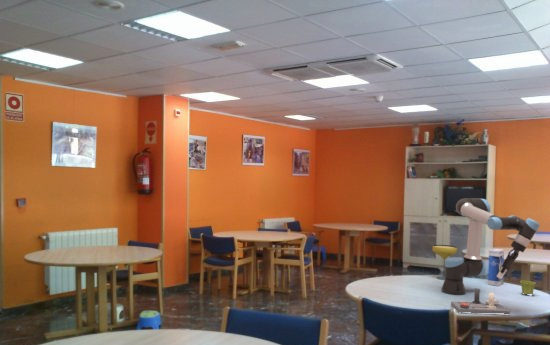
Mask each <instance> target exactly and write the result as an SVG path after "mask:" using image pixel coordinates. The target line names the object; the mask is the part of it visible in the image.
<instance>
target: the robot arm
mask: <svg viewBox="0 0 550 345" xmlns="http://www.w3.org/2000/svg"><path fill="white" fill-rule="evenodd" d="M455 210H456V212H457V213H458V214H459V215H461V216H462V217H467V219H468V220H469V222H468V232H467V243H466V254H465V255H463V257H460V256H456V257H455V256H452V257H451V256H450V257H447V258H446V259H445V280H443V284H442V287H441V292H442V293H444V294H448V295H454V296H455V295H456V296H459V295H460V296H461V295H466V287H465V285H464V278H466V277H469V278H471V277H472V278H477V277H481V276H482V275H484V273H485V270H486V265H485V261H484V260H483V258H482V256H481V248H482V234H483V225H486V226H487V227H488V229H490V230H493V231H494V230H495V231H500V230H501V231H505V230H506V231H512V230H513V231H517V232H518V233H517V234H516V236H515V238H514V240H513V241H512V243H511V244H510V247H512V249H511V250H510V251H508V253H507V256H506V257H505V258H504V263H503V265H501V266H502V268H501V270H500V272H499V273H498V275H497V277H498V278H500V279H502V277H503V278H504V276H505V274H506V273H507V272H508V271H509V270H510V268H511V266H512V265H513V263H515V261H516V259H517V258H518V257H519V253H520V252H521V253H524V252H525V250H526V248H527V246H528V245H529V244H531V241H532V239H533V237H534V236H535V234H536V232H538V230H539V228H540V226H541V225H540V223H539V222H538V221H536V220H534V219H532V218H530V217H528V218H527V219H526V220H525V219H523V218H520V217H519V216H517V215H510V216H507V217H506V216H503V217H502V216H499V215H496V214H493V213H491V205H490V203H489V201H488V200H487V199H485V198H479V197H478V198H477V197H476V198H475V197H474V198H471V197H469V198H468V197H467V198H466V197H465V198H461V199H459V200H458V201H457V203H456V204H455Z"/></svg>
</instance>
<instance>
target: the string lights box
mask: <svg viewBox="0 0 550 345" xmlns="http://www.w3.org/2000/svg"><path fill="white" fill-rule="evenodd" d="M504 255H505V249H503V248H491V249H489V250H488V271H487V272H488V273H487V274H488V278H487V285H490V286H494V287H500V286H501V285H503V284H504V276H503V277H502V279H500V278H498V277H497V275H498V273H499V272H500V270H501V268H502V266H501V265H503V263H504V261H505V258H504V257H505V256H504Z"/></svg>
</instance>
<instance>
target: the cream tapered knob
mask: <svg viewBox="0 0 550 345" xmlns="http://www.w3.org/2000/svg"><path fill="white" fill-rule="evenodd" d="M494 299H495V293H494V292H492V291H491V292H488V300H489V305H487V308H490V309H496V307H495V306H494V304H495V303H494Z"/></svg>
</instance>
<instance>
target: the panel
mask: <svg viewBox="0 0 550 345" xmlns="http://www.w3.org/2000/svg"><path fill="white" fill-rule="evenodd" d="M472 302H473V301H464V300H463V301H460V300H458V301H451V302H450V306H451V307H452V309H454V308H455V309H456V310H457V311H456V310H455V309H454V310H455V311H456V312H457V313H459V312H471V313H504V314H510V312H511V311H510V310H509V309H507V308H505V307H504V306H502V304H499V303H494V306H495V307H496V309H490V308H487V305H489V304H487V303H486V302H481V304H473V303H472Z"/></svg>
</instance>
